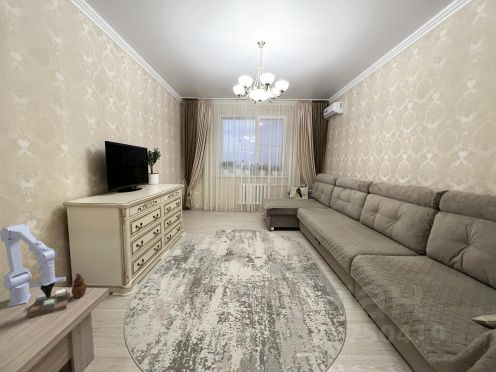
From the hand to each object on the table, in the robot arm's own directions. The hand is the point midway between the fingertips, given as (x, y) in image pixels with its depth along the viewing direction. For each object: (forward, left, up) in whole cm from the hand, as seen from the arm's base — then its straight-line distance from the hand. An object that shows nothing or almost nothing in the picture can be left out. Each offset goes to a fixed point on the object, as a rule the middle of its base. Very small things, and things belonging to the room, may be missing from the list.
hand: (48, 297), depth 118 cm
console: (-3, 0, -7) cm, 8 cm away
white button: (-7, +4, -4) cm, 9 cm away
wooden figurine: (-7, +12, -7) cm, 16 cm away
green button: (0, 0, -5) cm, 5 cm away
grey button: (-7, -4, -4) cm, 9 cm away
